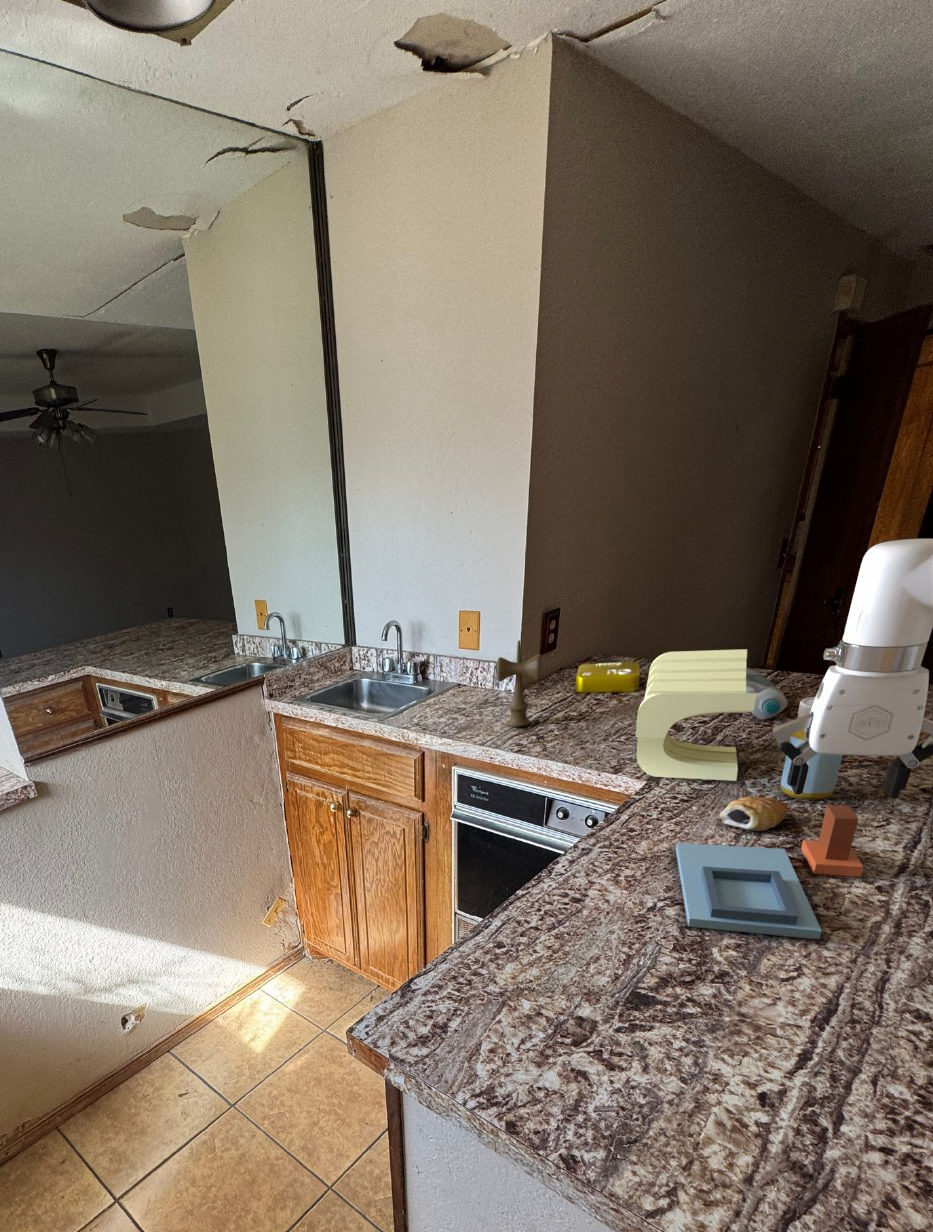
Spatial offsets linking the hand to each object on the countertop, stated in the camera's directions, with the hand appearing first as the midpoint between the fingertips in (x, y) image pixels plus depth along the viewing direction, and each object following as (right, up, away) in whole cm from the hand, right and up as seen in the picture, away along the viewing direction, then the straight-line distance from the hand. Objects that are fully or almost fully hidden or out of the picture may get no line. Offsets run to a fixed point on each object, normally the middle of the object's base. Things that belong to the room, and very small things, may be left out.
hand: (841, 792), depth 83 cm
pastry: (0, -3, +17) cm, 17 cm away
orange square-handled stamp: (+2, -9, +4) cm, 10 cm away
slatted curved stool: (+3, +8, +39) cm, 40 cm away
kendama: (-17, +21, +72) cm, 77 cm away
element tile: (+13, +35, +92) cm, 99 cm away
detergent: (+30, +23, +61) cm, 72 cm away
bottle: (+13, +1, +23) cm, 26 cm away
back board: (-12, -12, +2) cm, 17 cm away
